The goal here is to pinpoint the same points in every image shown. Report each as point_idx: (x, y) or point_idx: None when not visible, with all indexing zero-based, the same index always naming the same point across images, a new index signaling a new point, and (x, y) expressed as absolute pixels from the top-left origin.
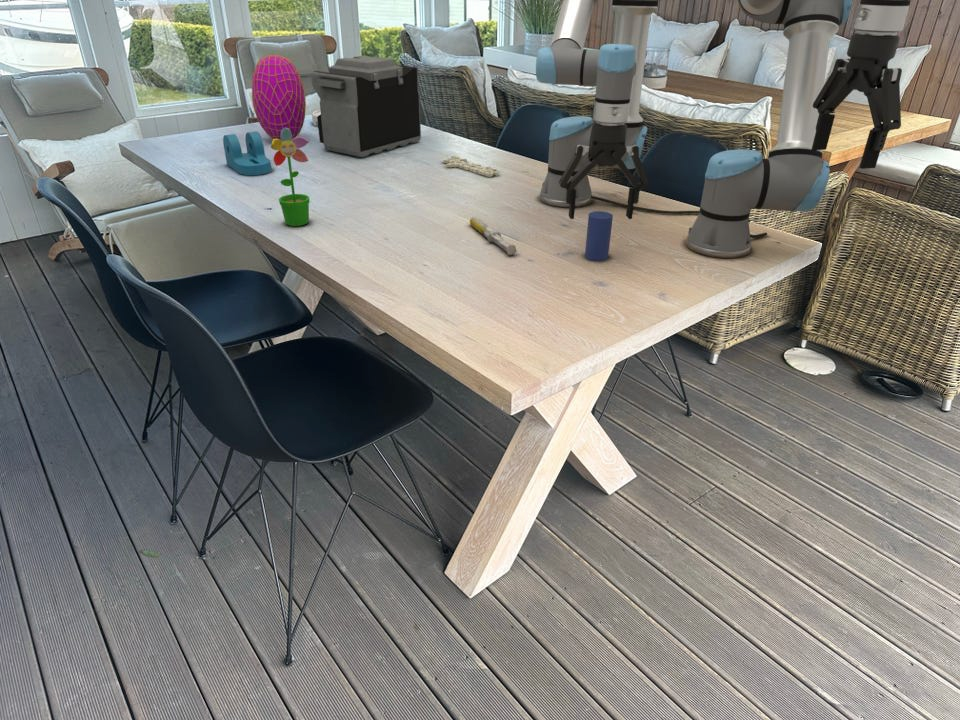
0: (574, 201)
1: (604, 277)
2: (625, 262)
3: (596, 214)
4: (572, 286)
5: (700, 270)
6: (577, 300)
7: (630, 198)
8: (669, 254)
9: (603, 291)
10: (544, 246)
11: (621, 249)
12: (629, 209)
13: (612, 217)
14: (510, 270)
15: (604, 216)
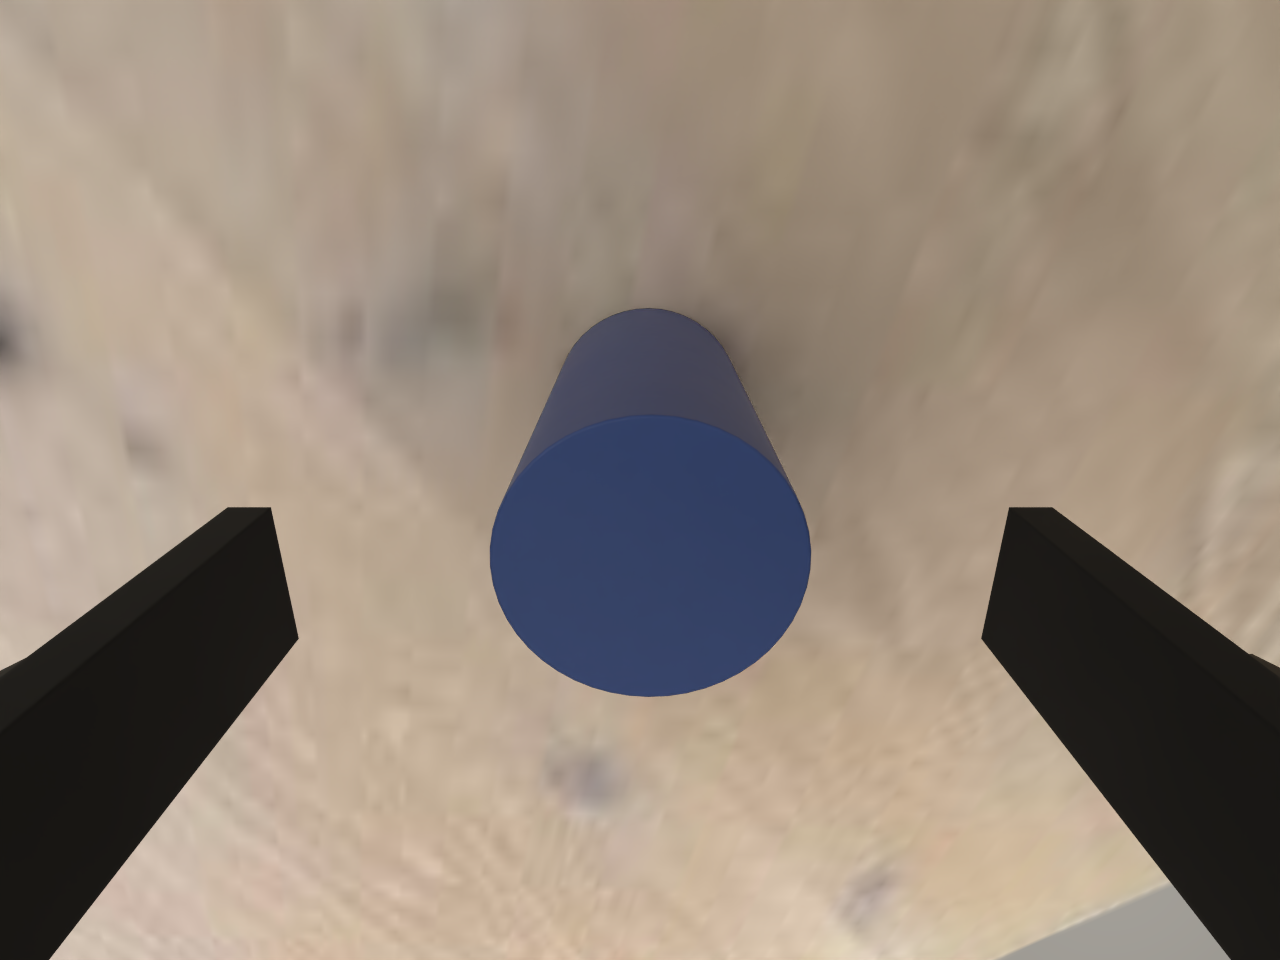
0: (144, 816)
1: (629, 708)
2: (836, 502)
3: (595, 553)
4: (429, 798)
5: (1277, 638)
6: (444, 918)
7: (1160, 806)
8: (1250, 362)
9: (587, 849)
10: (222, 135)
11: (904, 236)
12: (1045, 698)
13: (789, 615)
14: (39, 601)
15: (686, 621)
